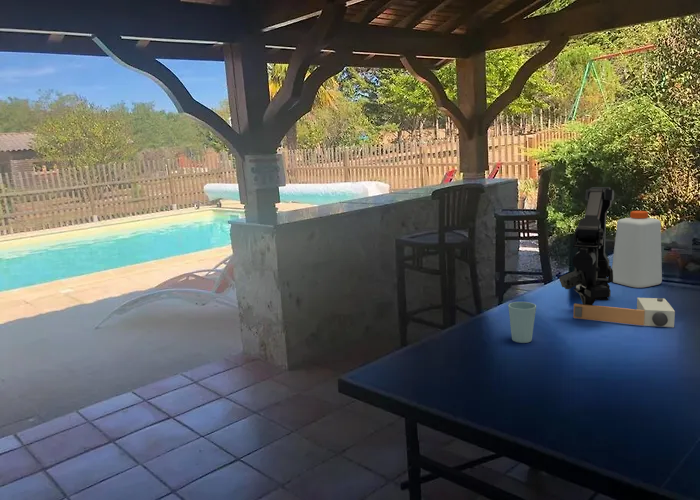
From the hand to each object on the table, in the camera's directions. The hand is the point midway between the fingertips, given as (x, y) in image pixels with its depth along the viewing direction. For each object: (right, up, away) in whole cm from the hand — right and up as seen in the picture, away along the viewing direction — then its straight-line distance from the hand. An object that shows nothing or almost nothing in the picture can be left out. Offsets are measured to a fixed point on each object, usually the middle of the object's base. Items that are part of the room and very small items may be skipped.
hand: (586, 311), depth 183 cm
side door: (+4, -3, -5) cm, 7 cm away
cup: (-26, -7, -17) cm, 31 cm away
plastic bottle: (+36, +7, +40) cm, 54 cm away
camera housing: (+19, -2, -4) cm, 20 cm away
